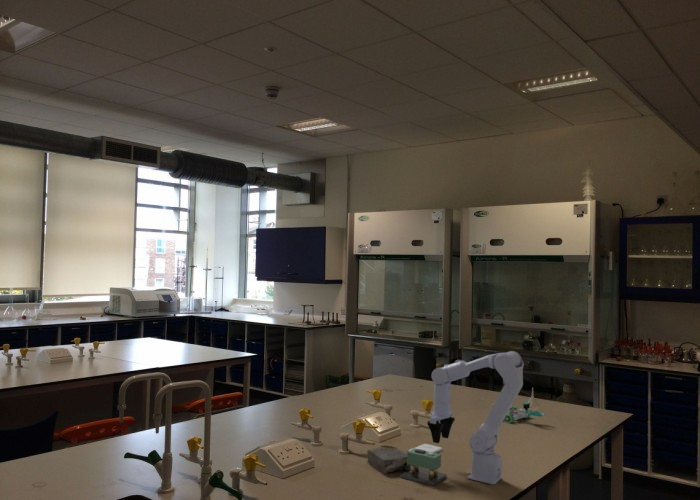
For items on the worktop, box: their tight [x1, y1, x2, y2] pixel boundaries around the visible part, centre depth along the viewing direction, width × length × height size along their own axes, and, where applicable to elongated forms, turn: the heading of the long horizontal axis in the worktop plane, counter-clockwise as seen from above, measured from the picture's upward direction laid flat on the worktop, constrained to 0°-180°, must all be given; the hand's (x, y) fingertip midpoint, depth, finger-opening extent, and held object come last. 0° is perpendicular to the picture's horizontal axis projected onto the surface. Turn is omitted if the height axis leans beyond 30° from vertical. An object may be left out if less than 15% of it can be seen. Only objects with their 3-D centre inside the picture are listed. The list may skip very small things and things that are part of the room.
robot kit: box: [490, 402, 546, 424], centre depth 272 cm, size 19×25×9 cm
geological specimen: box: [366, 445, 410, 475], centre depth 201 cm, size 11×6×15 cm
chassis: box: [400, 465, 447, 487], centre depth 191 cm, size 12×10×4 cm
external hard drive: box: [406, 443, 444, 454], centre depth 219 cm, size 2×8×12 cm
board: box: [406, 447, 442, 471], centre depth 191 cm, size 10×5×5 cm, turn 57°
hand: (440, 440), depth 202 cm, fingers open, 7 cm apart
